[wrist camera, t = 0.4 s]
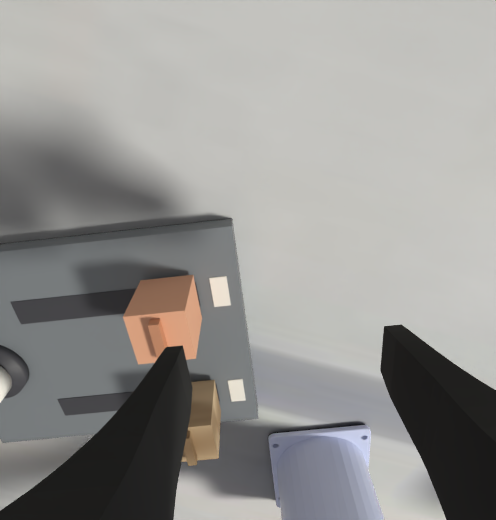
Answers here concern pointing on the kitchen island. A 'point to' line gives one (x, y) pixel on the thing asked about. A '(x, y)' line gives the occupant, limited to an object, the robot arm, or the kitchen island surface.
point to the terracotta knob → (164, 317)
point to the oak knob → (203, 424)
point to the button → (4, 383)
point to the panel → (112, 324)
